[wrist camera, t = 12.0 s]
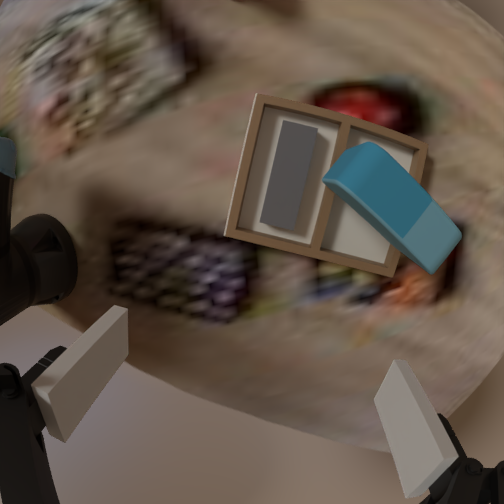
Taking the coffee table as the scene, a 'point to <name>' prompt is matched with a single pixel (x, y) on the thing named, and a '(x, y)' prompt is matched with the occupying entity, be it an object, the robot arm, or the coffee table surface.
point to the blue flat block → (393, 204)
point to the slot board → (315, 186)
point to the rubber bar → (288, 175)
